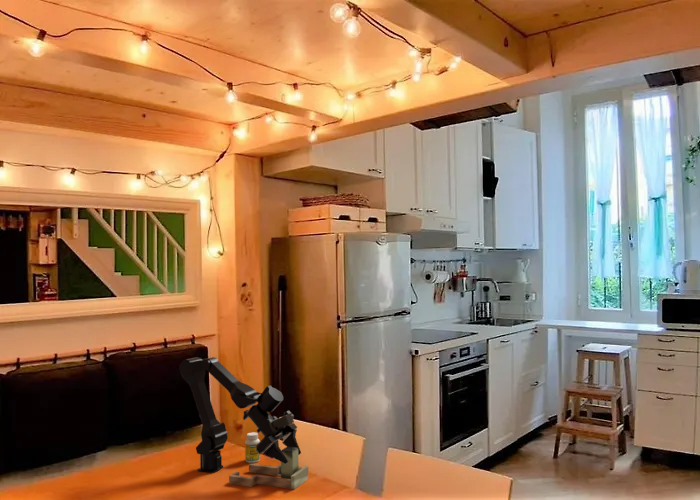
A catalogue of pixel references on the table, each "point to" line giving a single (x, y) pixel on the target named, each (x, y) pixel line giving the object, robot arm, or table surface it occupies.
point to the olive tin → (290, 462)
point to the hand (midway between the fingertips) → (293, 458)
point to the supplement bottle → (251, 448)
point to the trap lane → (269, 477)
